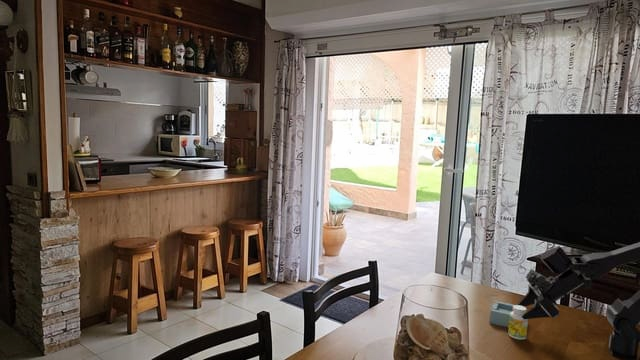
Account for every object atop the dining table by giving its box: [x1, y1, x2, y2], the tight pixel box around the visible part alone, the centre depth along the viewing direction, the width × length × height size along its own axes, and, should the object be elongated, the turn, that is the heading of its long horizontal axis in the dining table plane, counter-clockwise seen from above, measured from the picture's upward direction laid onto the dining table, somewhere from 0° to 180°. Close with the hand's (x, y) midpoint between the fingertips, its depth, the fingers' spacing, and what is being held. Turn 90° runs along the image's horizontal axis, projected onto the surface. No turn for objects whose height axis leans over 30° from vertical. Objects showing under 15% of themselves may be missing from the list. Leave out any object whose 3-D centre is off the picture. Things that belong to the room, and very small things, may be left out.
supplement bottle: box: [507, 304, 529, 341], centre depth 138 cm, size 5×5×10 cm
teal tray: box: [489, 300, 515, 328], centre depth 149 cm, size 10×10×4 cm
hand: (520, 312), depth 137 cm, fingers open, 9 cm apart
